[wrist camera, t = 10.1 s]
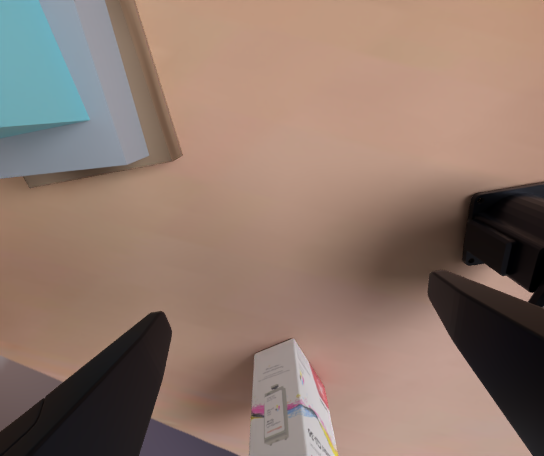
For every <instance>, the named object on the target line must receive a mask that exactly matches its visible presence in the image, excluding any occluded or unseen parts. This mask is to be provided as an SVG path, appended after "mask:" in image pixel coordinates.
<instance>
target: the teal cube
mask: <svg viewBox="0 0 544 456" xmlns="http://www.w3.org/2000/svg"><path fill="white" fill-rule="evenodd" d="M88 120H90V118H89V116H88V114H87V111H86V109H85V107H84V104H83V102H82V100H81V98H80V95H79V93H78V91H77V88H76V86H75V84H74V81H73V79H72V77H71V74H70V72H69V70H68V67H67V65H66V63H65V60H64V58H63V56H62V53H61V51H60V49H59V47H58V44H57V42H56V40H55V37H54V35H53V33H52V30H51V28H50V26H49V23H48V21H47V19H46V16H45V14H44V12H43V9H42V7H41V5H40V2H39V0H0V138H5V137H10V136H15V135H19V134H24V133H29V132H34V131H39V130H44V129H49V128H54V127H59V126H64V125H69V124H74V123H78V122H83V121H88Z"/></svg>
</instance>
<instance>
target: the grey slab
mask: <svg viewBox="0 0 544 456" xmlns="http://www.w3.org/2000/svg"><path fill="white" fill-rule="evenodd" d="M39 2H40V5H41V7H42V9H43V12H44V14H45V16H46V19H47V21H48V23H49V26H50V28H51V30H52V33H53V35H54V37H55V40H56V42H57V44H58V47H59V49H60V51H61V53H62V56H63V58H64V60H65V63H66V65H67V67H68V70H69V72H70V74H71V77H72V79H73V81H74V84H75V86H76V88H77V91H78V93H79V95H80V98H81V100H82V102H83V104H84V107H85V109H86V111H87V114H88V116H89V118H90V120H88V121H83V122H78V123H74V124H69V125H64V126H59V127H54V128H49V129H44V130H39V131H34V132H29V133H24V134H19V135H15V136H10V137H5V138H0V179H1V178H10V177H19V176H29V175H38V174H47V173H56V172H65V171H75V170H84V169H93V168H102V167H111V166H121V165H128V164H130V163H133V162H135V161H138V160H140V159H142V158H145V157H147V156H149V153H148V149H147V146H146V142H145V139H144V135H143V132H142V128H141V125H140V121H139V118H138V114H137V111H136V107H135V104H134V100H133V97H132V93H131V90H130V86H129V83H128V79H127V76H126V72H125V69H124V65H123V62H122V59H121V55H120V52H119V48H118V45H117V41H116V38H115V34H114V31H113V27H112V24H111V20H110V17H109V13H108V10H107V6H106V3H105V0H39Z"/></svg>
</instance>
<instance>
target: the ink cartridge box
mask: <svg viewBox="0 0 544 456" xmlns="http://www.w3.org/2000/svg"><path fill="white" fill-rule="evenodd" d="M249 456H338V452H337V447H336V443H335V437H334V432H333V427H332V423H331V417H330V412H329V407H328V402H327V397H326V393H325V388H324V385H323V384H322V382H321V381H320V379H319V378H318V376H317V375H316V373H315V371H314V370H313V368H312V367H311V365H310V363H309V362H308V360H307V359H306V357H305V355H304V354H303V352H302V351H301V349H300V347H299V346H298V344H297V342H296V341H295V339H290V340H288V341H285V342H283V343H280V344H278V345H275V346H273V347H271V348H268V349H265V350H263V351H260V352H258V353H256V354H255V355H254V371H253V389H252V408H251V424H250V445H249Z"/></svg>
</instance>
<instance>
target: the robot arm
mask: <svg viewBox="0 0 544 456" xmlns="http://www.w3.org/2000/svg"><path fill="white" fill-rule="evenodd" d="M479 198H481V199H480V201H478V199H479ZM477 201H478V202H477ZM469 259H470V260H469ZM462 261H463V262H464V263H465V264H466V265H468V266H471V265H478V264H486V265H488V266H489V267H490V268H492V269H493V270H495V271H496V272H497V273H499V274H500V275H502V276H508V277H509V278H510V279H512V280H513V281H515V282H516V283H518V284H519V285H520V286H522V287H523V288H525V289H526V290H527V291H529V292H532V293H533V292H534V293H533V295H532V296H531V298H530V299H529V301H528V302H526V301H523V300H521V299H518V298H516V297H513V296H511V295H508V294H505V293H503V292H500V291H498V290H495V289H492V288H490V287H487V286H485V285H482V284H480V283H477V282H474V281H472V280H469V279H467V278H464V277H461V276H459V275H456V274H454V273H451V272H449V271H446V270H438V271H432V272H430V274H429V281H428V297H429V299H430V301H431V303H432V305H433V307H434V308H435V310H436V312H437V314H438V316H439V317H440V319H441V321H442V323H443V325H444V326H445V328H446V330H447V332H448V334H449V335H450V337H451V339H452V340H453V342H454V343H455V345H456V346H457V348H458V349H459V351H460V352H461V354H462V355H463V357H464V358H465V359H466V361H467V362H468V364H469V365H470V367H471V368H472V369H473V371H474V372H475V374H476V375H477V377H478V378H479V380H480V381H481V382H482V384H483V385H484V387H485V388H486V390H487V391H488V392H489V394H490V395H491V397H492V398H493V400H494V401H495V402H496V404H497V405H498V407H499V408H500V410H501V411H502V412H503V414H504V415H505V417H506V418H507V420H508V421H509V422H510V424H511V425H512V427H513V428H514V430H515V431H516V432H517V434H518V435H519V437H520V438H521V440H522V441H523V442H524V444H525V445H526V447H527V448H528V450H529V451H530V452H531V454H532V455H533V456H544V182H542V183H536V184H530V185H524V186H518V187H512V188H506V189H500V190H494V191H488V192H481V193H477V194H475V195H473V197H472V198H471V202H470V209H469V216H468V222H467V227H466V234H465V241H464V251H463V258H462ZM171 337H172V330H171V327H170V324H169V322H168V320H167V317H166V315H165V313H164V312H162V311H158V312H152V313H150V314H148V315H147V316H146V317H144V318H143V319H142V320H141V321H139V322H138V323H137V324H136V325H134V326H133V327H132V328H131V329H129V330H128V331H127V332H126V333H124V334H123V335H122V336H121V337H119V338H118V339H117V340H116V341H114V342H113V343H112V344H111V345H109V346H108V347H107V348H106V349H104V350H103V351H102V352H101V353H99V354H98V355H97V356H96V357H94V358H93V359H92V360H91V361H89V362H88V363H87V364H86V365H84V366H83V367H82V368H81V369H79V370H78V371H77V372H75V373H74V374H73V375H72V376H70V377H69V378H68V379H67V380H65V381H64V382H63V383H62V384H60V385H59V386H58V387H57V388H55V389H54V390H53V391H52V392H50V394H48V395H47V396H46V397H45V398H43V399H42V400H40V401H39V402H38V403H37V404H35V405H34V406H33V407H32V408H30V409H29V410H28V411H27V412H25V413H24V414H23V415H22V416H20V417H19V418H18V419H16V420H15V421H14V422H12V423H11V424H10V425H9V426H7V427H6V428H5V429H3V430H2V431H1V432H0V456H139V454H140V450H141V447H142V444H143V441H144V437H145V434H146V431H147V428H148V425H149V421H150V418H151V415H152V412H153V409H154V406H155V402H156V399H157V396H158V393H159V390H160V386H161V383H162V379H163V375H164V371H165V366H166V361H167V356H168V351H169V346H170V342H171Z"/></svg>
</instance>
